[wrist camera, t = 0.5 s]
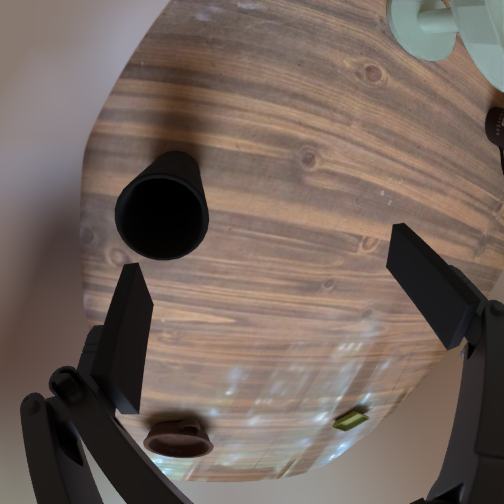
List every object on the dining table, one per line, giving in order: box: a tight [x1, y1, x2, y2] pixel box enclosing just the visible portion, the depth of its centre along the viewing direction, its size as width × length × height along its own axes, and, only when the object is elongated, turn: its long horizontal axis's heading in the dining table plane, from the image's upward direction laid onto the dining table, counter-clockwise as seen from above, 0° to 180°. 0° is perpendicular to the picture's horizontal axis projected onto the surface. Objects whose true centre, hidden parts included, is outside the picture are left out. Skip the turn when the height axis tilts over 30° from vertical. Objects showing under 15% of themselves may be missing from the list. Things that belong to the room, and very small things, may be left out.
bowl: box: [386, 0, 504, 93], centre depth 17 cm, size 16×16×18 cm
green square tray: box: [332, 411, 370, 432], centre depth 72 cm, size 9×9×2 cm
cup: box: [115, 151, 209, 260], centre depth 28 cm, size 8×8×12 cm
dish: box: [143, 419, 214, 458], centre depth 63 cm, size 18×22×5 cm
